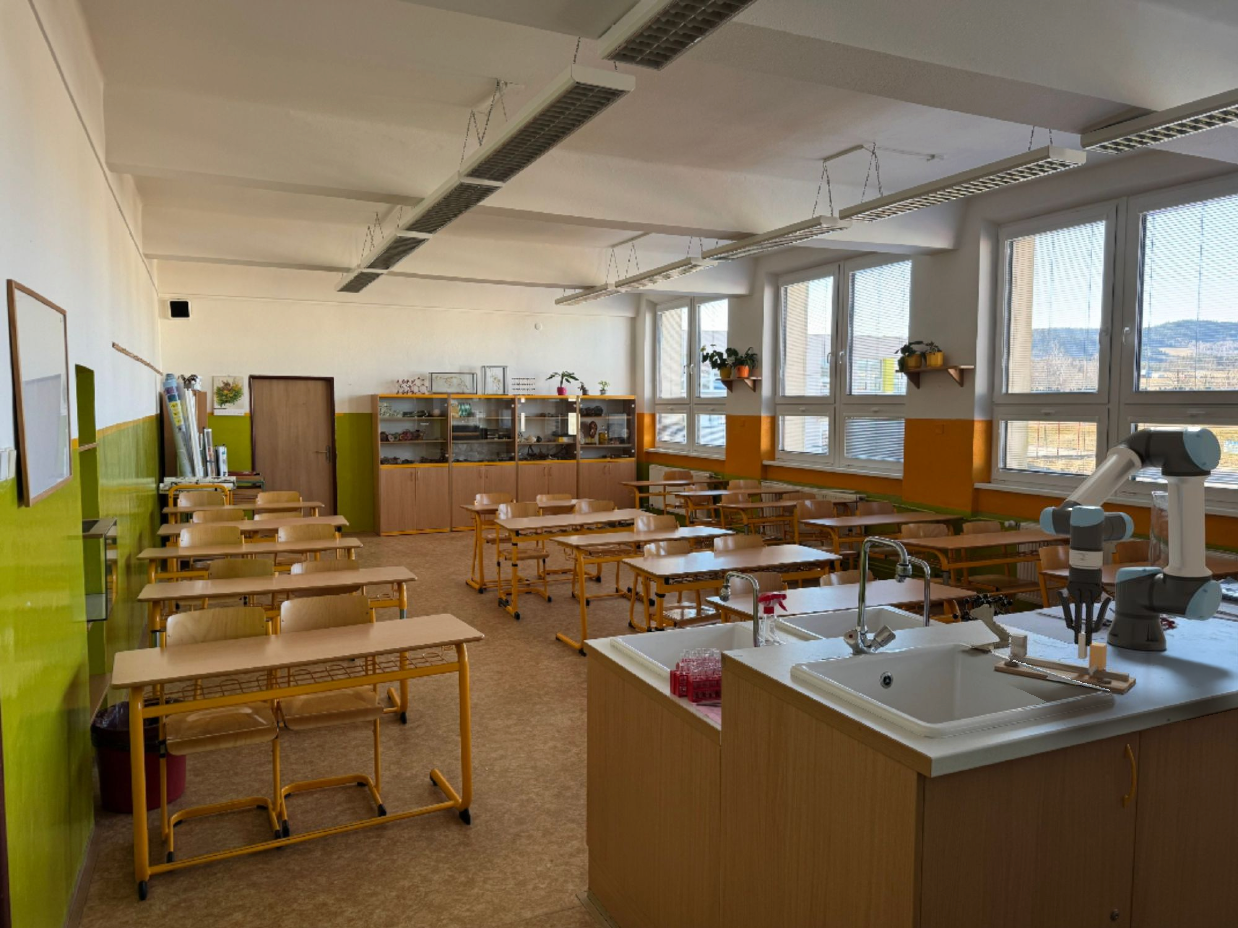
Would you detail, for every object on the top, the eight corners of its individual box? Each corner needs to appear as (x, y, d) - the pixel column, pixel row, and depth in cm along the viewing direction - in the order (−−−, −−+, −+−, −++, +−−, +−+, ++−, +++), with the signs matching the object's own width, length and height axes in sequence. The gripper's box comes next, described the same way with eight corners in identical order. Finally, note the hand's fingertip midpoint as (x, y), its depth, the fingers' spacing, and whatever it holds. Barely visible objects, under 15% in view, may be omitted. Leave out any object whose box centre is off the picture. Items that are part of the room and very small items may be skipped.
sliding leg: (1092, 667, 223) (1093, 641, 223) (1106, 669, 221) (1106, 643, 221) (1083, 674, 216) (1084, 648, 216) (1096, 677, 214) (1097, 650, 214)
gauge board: (1010, 660, 238) (1011, 630, 238) (1135, 682, 218) (1136, 650, 217) (994, 669, 228) (995, 639, 228) (1123, 694, 208) (1124, 660, 208)
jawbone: (1015, 665, 252) (986, 649, 244) (991, 664, 258) (962, 648, 250) (1020, 619, 257) (991, 602, 249) (996, 619, 263) (968, 602, 255)
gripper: (1053, 565, 223) (1050, 655, 224) (1110, 571, 215) (1106, 665, 216) (1062, 562, 229) (1059, 650, 230) (1117, 567, 220) (1114, 659, 221)
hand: (1082, 657), depth 223 cm, fingers closed
